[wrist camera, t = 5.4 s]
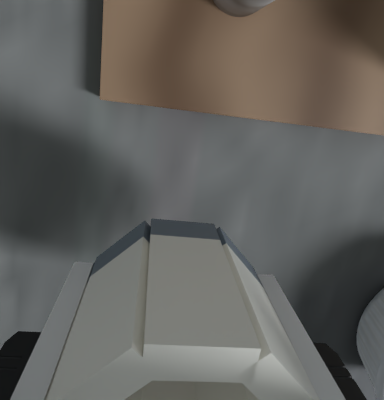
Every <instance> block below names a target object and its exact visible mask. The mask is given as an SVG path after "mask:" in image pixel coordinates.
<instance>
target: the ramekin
mask: <svg viewBox="0 0 384 400" xmlns="http://www.w3.org/2000/svg"><path fill="white" fill-rule="evenodd" d="M356 338H357V348H358V353H359V355H360V358H361V360H362V362H363V364H364V367H365V369H366V371H367V374H368V376H369V378H370V380H371V382H372V384H373V386H374V388H375V395H376V399H377V400H384V288H383V289H382V290H381V291H380V292H379V293H378V294H376V296H375V297H374V298H373V299H372V300H371V301H370V303H369V304H368V305H367V307H366V308H365V310H364V312H363V314H362V316H361V319H360V322H359V325H358V329H357V335H356Z"/></svg>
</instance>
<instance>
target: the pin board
mask: <svg viewBox="0 0 384 400" xmlns="http://www.w3.org/2000/svg"><path fill="white" fill-rule="evenodd" d="M100 100H108V101H115V102H123V103H131V104H139V105H147V106H155V107H163V108H171V109H179V110H187V111H195V112H203V113H210V114H218V115H226V116H234V117H242V118H250V119H258V120H266V121H274V122H282V123H290V124H298V125H306V126H313V127H321V128H329V129H337V130H345V131H353V132H361V133H369V134H377V135H384V0H104V1H103V27H102V53H101V79H100Z"/></svg>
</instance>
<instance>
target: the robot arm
mask: <svg viewBox="0 0 384 400" xmlns="http://www.w3.org/2000/svg"><path fill="white" fill-rule="evenodd" d="M92 268H93V263H89V262H74V264H73V266H72V268H71V270H70V272H69V275H68V277H67V279H66V281H65V283H64V285H63V287H62V290H61V292H60V294H59V296H58V298H57V300H56V302H55V304H54V307H53V309H52V311H51V313H50V315H49V317H48V319H47V322H46V324H45V326H44V328H43V330H42V332H22V331H18V332H17V333H16V334H14V335H13V336H12V337H11V338H10V339H8V340H7V341H6V342H5V343H4V345H3V346H2V348H1V350H0V400H46V397H47V394H48V391H49V389H50V386H51V383H52V380H53V377H54V375H55V372H56V369H57V366H58V363H59V361H60V358H61V355H62V352H63V349H64V347H65V344H66V341H67V338H68V335H69V333H70V330H71V327H72V324H73V321H74V318H75V316H76V313H77V310H78V307H79V304H80V302H81V299H82V296H83V293H84V290H85V288H86V285H87V282H88V279H89V276H90V274H91V271H92ZM257 276H258V278H259V280H260V282H261V284H262V286H263V288H264V290H265V292H266V294H267V296H268V298H269V300H270V302H271V304H272V306H273V308H274V310H275V312H276V314H277V316H278V318H279V320H280V322H281V324H282V326H283V328H284V330H285V332H286V334H287V336H288V338H289V340H290V342H291V344H292V346H293V348H294V350H295V352H296V354H297V356H298V358H299V360H300V362H301V364H302V365H303V367H304V369H305V371H306V373H307V375H308V377H309V379H310V381H311V383H312V385H313V387H314V389H315V391H316V393H317V395H318V397H319V399H320V400H367V399H366V398H365V396H364V395H363V393H362V392H361V390H360V388H359V387H358V385H357V384H356V382H355V381H354V379H352V376H351V375H350V373H349V371H348V370H347V369H346V368H345V365H344V364H343V362H342V361H341V359H340V357H339V356H338V354H337V353H335V352H334V351H333V350H332V349H331V348H330V347H329V346H328V345H327V344H325V343H313V342H312V341H311V339H310V337H309V336H308V334H307V332H306V330H305V329H304V327H303V325H302V323H301V322H300V320H299V318H298V317H297V315H296V313H295V311H294V310H293V308H292V306H291V305H290V303H289V301H288V299H287V298H286V296H285V294H284V292H283V291H282V289H281V287H280V286H279V284H278V282H277V280H276V279H275V277H274V275H265V274H257Z"/></svg>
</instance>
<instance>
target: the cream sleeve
mask: <svg viewBox="0 0 384 400" xmlns="http://www.w3.org/2000/svg"><path fill="white" fill-rule="evenodd" d="M46 400H320V399H319V397H318V395H317V393H316V391H315V389H314V387H313V385H312V383H311V381H310V379H309V377H308V375H307V373H306V371H305V369H304V367H303V365H302V364H301V362H300V360H299V358H298V356H297V354H296V352H295V350H294V348H293V346H292V344H291V342H290V340H289V338H288V336H287V334H286V332H285V330H284V328H283V326H282V324H281V322H280V320H279V318H278V316H277V314H276V312H275V310H274V308H273V306H272V304H271V302H270V300H269V298H268V296H267V294H266V292H265V290H264V288H263V286H262V284H261V282H260V280H259V278H258V276H257V274H256V272H255V270H254V268H253V267H252V265H251V264H250V263H249V262H248V261H247V259H246V258H245V257H244V256H243V255H242V253H241V252H240V251H239V250H238V249H237V247H236V246H235V245H234V244H233V242H232V241H231V240H230V239H229V238H228V236H227V235H226V234H225V233H224V232H223V230H222V229H221V228H220V227H219V228H217V229H216V228H215V225H214V224H208V223H196V222H185V221H173V220H161V219H151V227H150V226H149V224H148V223H147V222H146V221H144V222H142V223H141V224H140V225H138V226H137V227H136V228H134V229H133V230H132V231H131V232H129V233H128V234H127V235H125V236H124V237H123V238H121V239H120V240H119V241H117V242H116V243H115V244H114V245H112V246H111V247H110V248H108V249H107V250H106V251H104V252H103V253H102V254H100V255H99V256H98V257H97V258H96V261H95V263H94V264H93V268H92V271H91V274H90V276H89V279H88V282H87V285H86V288H85V290H84V293H83V296H82V299H81V302H80V304H79V307H78V310H77V313H76V316H75V318H74V321H73V324H72V327H71V330H70V333H69V335H68V338H67V341H66V344H65V347H64V349H63V352H62V355H61V358H60V361H59V363H58V366H57V369H56V372H55V375H54V377H53V380H52V383H51V386H50V389H49V391H48V394H47V397H46Z"/></svg>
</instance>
